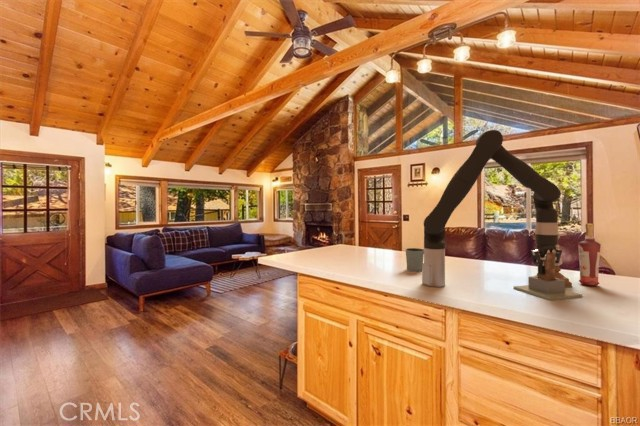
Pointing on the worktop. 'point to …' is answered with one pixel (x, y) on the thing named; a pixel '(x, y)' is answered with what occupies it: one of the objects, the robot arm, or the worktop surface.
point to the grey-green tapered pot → (414, 259)
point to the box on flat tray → (547, 289)
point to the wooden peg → (549, 267)
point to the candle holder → (557, 268)
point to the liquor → (589, 258)
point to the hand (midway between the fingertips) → (546, 273)
